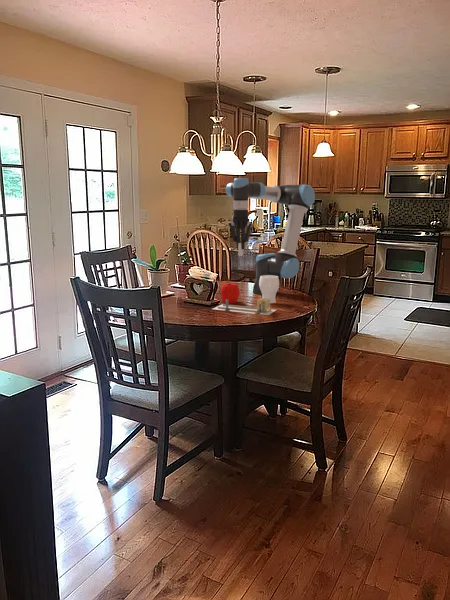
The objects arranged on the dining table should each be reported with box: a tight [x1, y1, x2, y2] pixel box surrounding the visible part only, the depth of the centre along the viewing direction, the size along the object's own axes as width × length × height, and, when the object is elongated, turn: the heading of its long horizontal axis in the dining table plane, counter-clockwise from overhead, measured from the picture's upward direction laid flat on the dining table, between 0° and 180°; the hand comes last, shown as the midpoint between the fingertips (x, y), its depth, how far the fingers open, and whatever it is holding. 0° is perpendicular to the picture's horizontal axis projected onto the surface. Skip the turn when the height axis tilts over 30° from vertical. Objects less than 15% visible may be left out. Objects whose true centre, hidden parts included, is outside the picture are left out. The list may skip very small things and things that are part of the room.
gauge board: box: [212, 300, 277, 316], centre depth 250 cm, size 12×30×7 cm, turn 65°
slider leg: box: [256, 297, 271, 313], centre depth 244 cm, size 8×5×6 cm, turn 155°
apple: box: [220, 282, 240, 305], centre depth 265 cm, size 10×10×12 cm
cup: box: [259, 275, 280, 304], centre depth 267 cm, size 11×11×15 cm
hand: (240, 255), depth 261 cm, fingers closed
